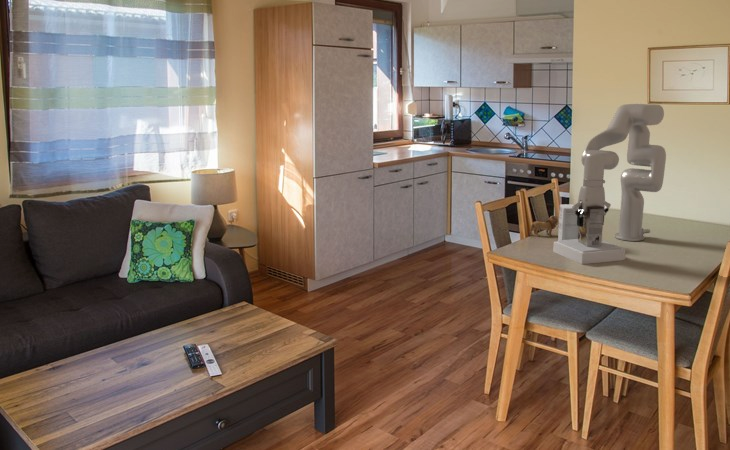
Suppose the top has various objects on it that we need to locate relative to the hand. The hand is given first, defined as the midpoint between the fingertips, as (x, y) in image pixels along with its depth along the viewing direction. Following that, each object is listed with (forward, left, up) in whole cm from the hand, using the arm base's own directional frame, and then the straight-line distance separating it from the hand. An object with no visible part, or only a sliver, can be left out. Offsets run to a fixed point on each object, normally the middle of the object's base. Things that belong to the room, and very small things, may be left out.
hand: (590, 225), depth 269 cm
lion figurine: (-2, -38, -13) cm, 40 cm away
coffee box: (0, 0, -8) cm, 8 cm away
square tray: (0, 0, -13) cm, 13 cm away
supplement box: (-5, -20, -13) cm, 24 cm away
